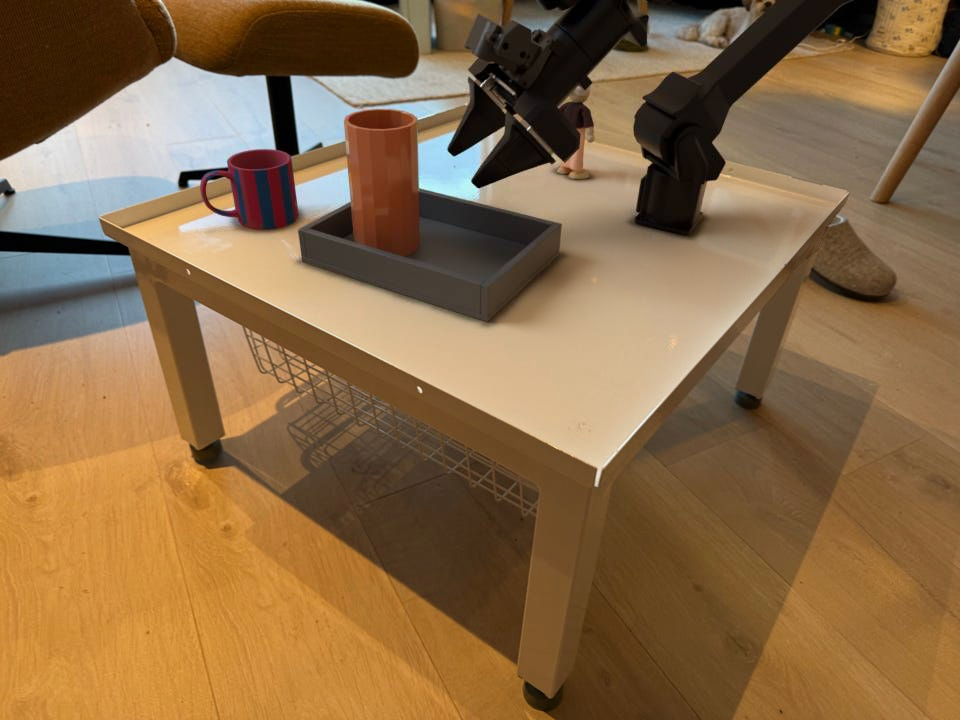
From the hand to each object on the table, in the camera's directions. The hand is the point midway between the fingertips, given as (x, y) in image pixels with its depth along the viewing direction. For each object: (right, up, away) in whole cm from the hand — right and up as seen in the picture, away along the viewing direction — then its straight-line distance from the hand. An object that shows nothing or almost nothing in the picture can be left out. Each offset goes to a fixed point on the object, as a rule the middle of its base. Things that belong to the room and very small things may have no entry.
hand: (461, 168), depth 70 cm
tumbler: (-8, -7, +3) cm, 11 cm away
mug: (-24, -4, +8) cm, 25 cm away
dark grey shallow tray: (-3, -9, +2) cm, 10 cm away
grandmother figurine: (+14, +6, +23) cm, 28 cm away
